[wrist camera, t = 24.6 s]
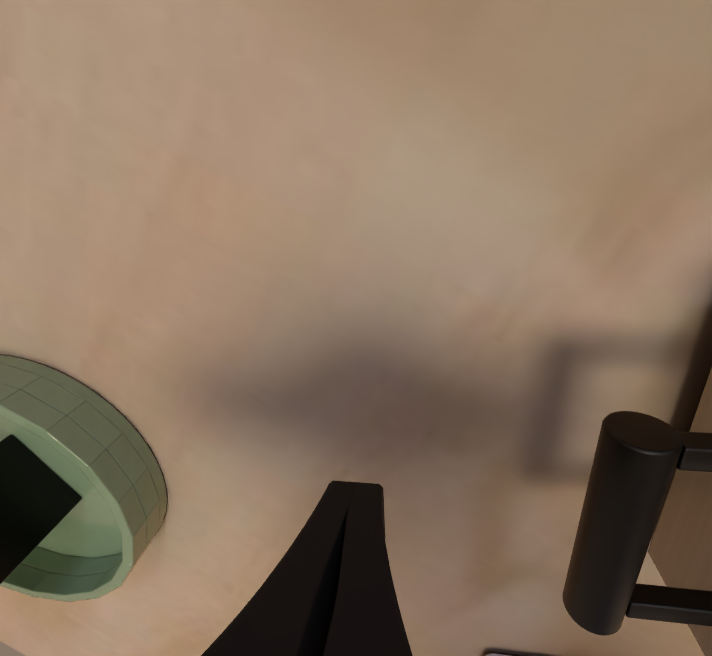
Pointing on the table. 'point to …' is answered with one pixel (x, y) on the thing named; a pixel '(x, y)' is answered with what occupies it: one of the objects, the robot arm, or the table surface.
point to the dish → (81, 483)
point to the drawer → (646, 526)
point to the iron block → (27, 503)
